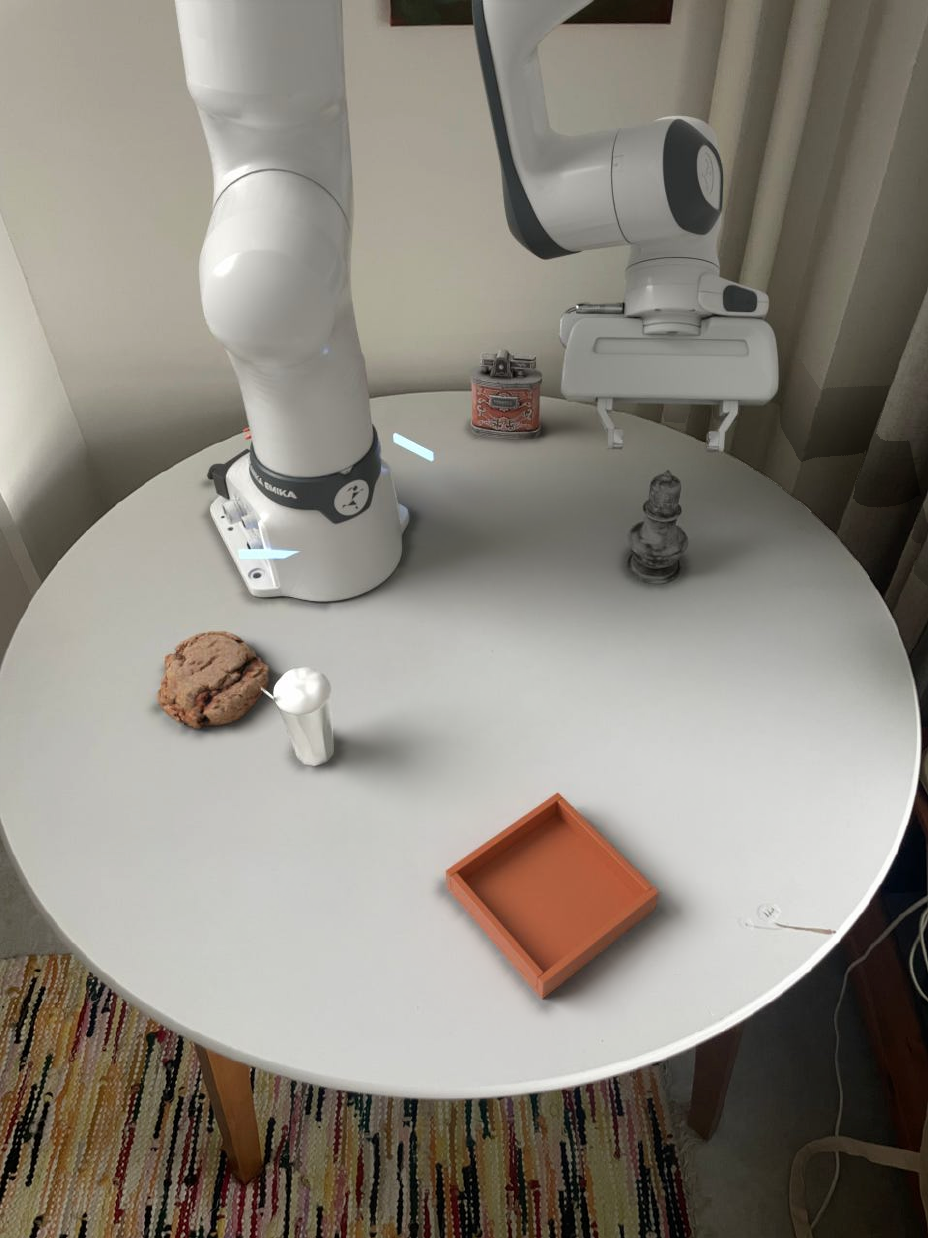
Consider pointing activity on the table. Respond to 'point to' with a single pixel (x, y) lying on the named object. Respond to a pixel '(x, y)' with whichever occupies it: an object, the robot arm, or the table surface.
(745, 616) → the table surface
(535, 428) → the lighter
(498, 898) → the tray
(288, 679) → the milkshake cup
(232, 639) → the cookie
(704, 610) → the table surface
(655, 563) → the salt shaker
